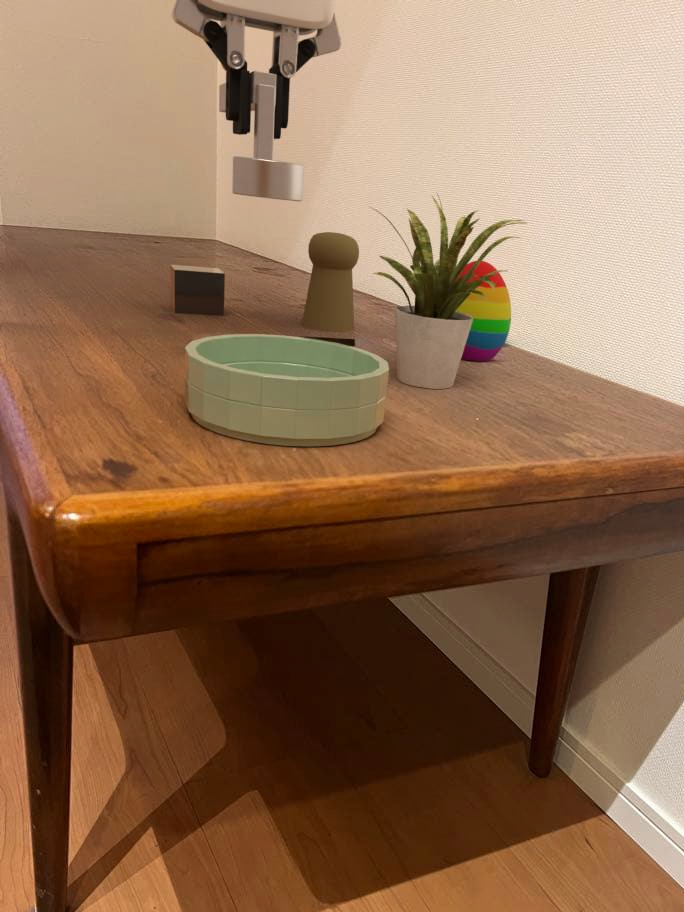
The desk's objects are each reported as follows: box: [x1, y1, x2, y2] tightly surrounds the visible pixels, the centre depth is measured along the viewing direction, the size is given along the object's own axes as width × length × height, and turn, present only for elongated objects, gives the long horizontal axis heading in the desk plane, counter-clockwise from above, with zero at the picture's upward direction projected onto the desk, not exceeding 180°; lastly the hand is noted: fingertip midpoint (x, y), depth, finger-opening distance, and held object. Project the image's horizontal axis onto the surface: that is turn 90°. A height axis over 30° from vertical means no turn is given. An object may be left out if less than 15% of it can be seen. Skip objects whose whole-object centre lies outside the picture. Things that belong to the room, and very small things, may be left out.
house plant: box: [366, 193, 526, 390], centre depth 69 cm, size 14×14×16 cm
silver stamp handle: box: [218, 70, 305, 202], centre depth 60 cm, size 18×5×8 cm, turn 22°
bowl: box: [184, 333, 390, 447], centre depth 56 cm, size 14×14×4 cm
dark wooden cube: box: [169, 264, 226, 317], centre depth 82 cm, size 5×4×6 cm
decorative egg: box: [455, 260, 512, 362], centre depth 84 cm, size 8×8×10 cm
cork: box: [298, 231, 360, 347], centre depth 82 cm, size 6×6×11 cm
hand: (256, 134), depth 58 cm, fingers closed on silver stamp handle
